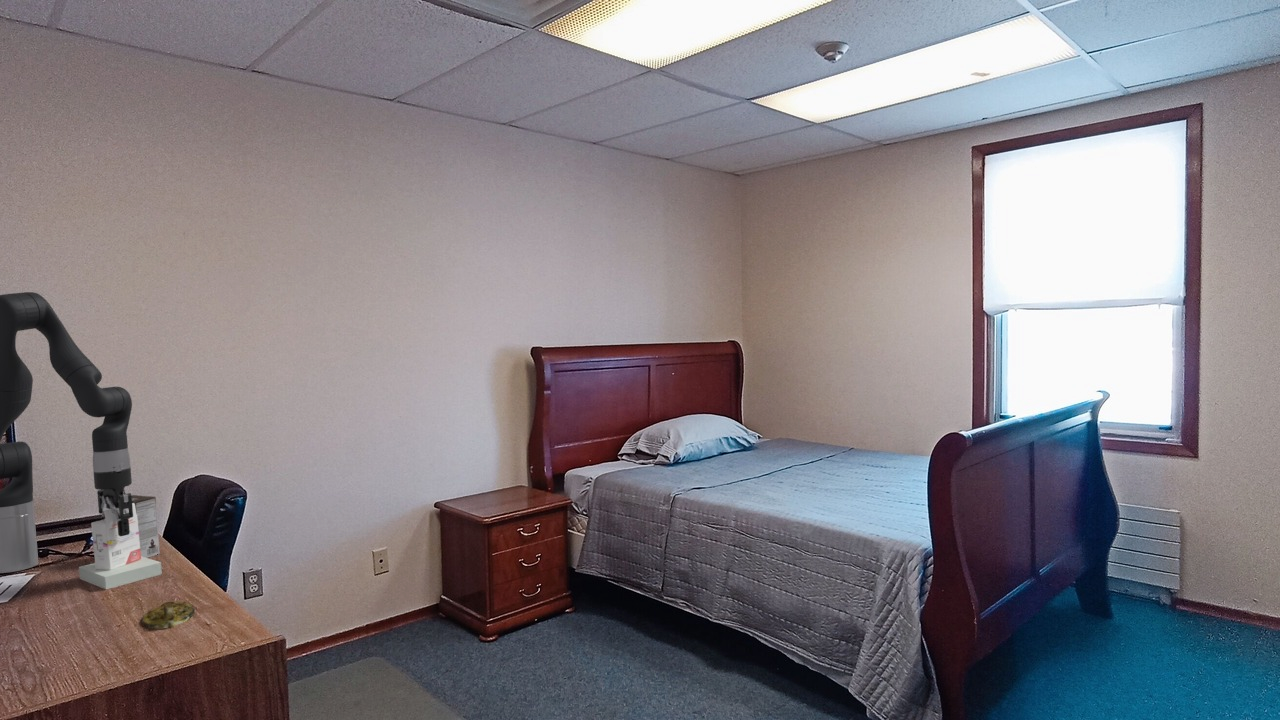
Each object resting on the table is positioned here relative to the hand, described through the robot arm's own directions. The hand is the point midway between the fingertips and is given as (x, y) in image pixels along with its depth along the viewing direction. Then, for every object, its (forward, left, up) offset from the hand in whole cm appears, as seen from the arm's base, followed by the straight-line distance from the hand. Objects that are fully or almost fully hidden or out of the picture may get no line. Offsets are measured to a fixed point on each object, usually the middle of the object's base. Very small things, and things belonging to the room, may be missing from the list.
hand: (117, 533), depth 184 cm
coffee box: (-16, +10, -11) cm, 22 cm away
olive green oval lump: (+42, -6, -12) cm, 44 cm away
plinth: (0, 0, -11) cm, 11 cm away
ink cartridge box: (0, 0, -8) cm, 8 cm away
